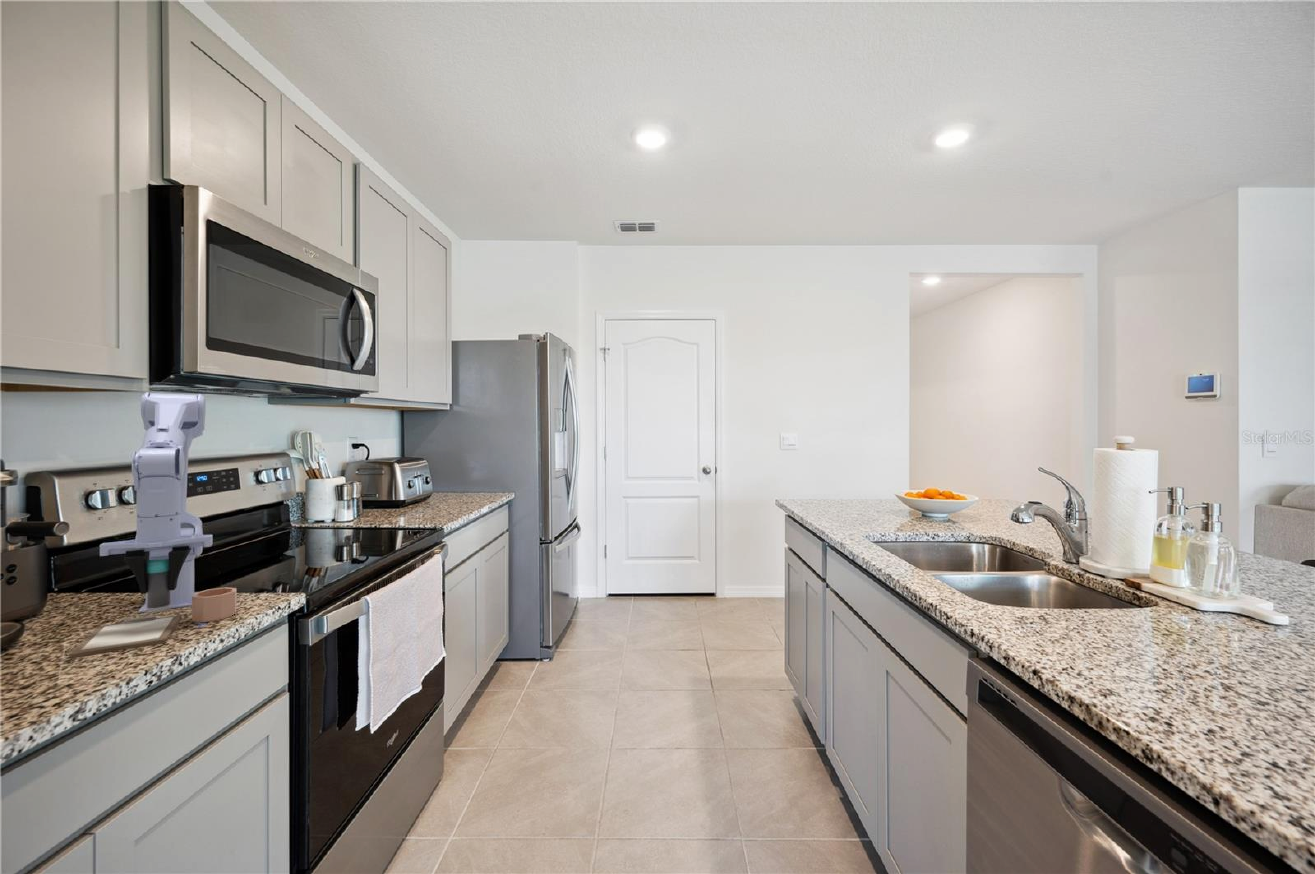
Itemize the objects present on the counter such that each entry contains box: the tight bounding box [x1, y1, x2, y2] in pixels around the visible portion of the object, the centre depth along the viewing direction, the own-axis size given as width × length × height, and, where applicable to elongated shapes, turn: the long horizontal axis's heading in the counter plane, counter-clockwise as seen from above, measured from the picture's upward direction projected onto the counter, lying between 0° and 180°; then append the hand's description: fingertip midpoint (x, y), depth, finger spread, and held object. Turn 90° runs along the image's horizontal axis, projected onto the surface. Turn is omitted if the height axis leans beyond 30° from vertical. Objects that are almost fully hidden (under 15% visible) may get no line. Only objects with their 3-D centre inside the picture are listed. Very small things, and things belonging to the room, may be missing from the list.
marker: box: [147, 558, 170, 614], centre depth 94 cm, size 3×3×9 cm
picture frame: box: [68, 614, 183, 659], centre depth 90 cm, size 14×11×1 cm
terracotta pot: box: [191, 586, 238, 623], centre depth 100 cm, size 6×6×4 cm
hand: (158, 590), depth 94 cm, fingers closed on marker, 3 cm apart
